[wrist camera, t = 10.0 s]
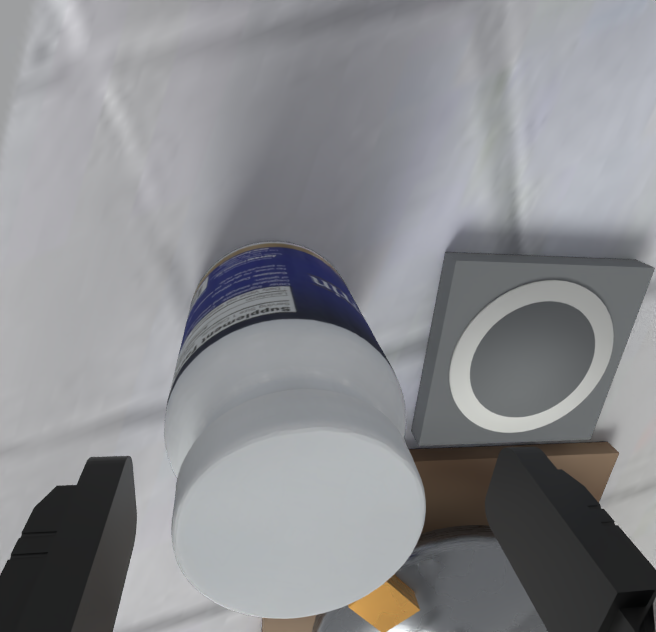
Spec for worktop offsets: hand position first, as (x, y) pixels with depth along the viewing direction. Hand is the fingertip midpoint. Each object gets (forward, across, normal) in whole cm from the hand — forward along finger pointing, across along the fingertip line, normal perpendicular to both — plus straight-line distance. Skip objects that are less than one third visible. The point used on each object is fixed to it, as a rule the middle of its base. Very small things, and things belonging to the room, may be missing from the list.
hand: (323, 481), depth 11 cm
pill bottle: (+8, +1, 0) cm, 8 cm away
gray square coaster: (+8, -10, +1) cm, 13 cm away
